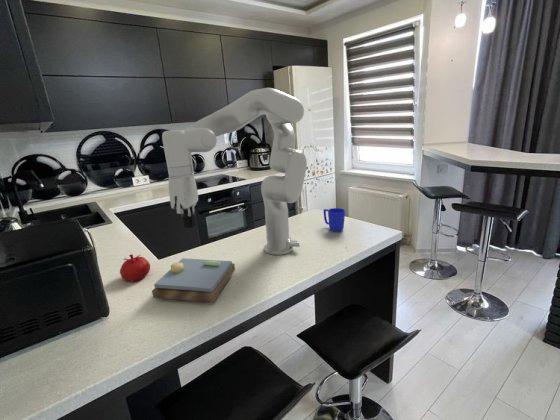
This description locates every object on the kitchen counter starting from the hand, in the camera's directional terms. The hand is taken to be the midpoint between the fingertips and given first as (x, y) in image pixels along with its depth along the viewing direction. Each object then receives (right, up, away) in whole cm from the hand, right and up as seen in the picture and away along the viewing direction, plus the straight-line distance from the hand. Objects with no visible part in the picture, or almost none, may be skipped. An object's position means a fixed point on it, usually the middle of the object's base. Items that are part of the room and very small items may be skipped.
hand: (190, 226), depth 96 cm
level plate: (+1, -16, +2) cm, 16 cm away
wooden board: (+2, -20, +3) cm, 21 cm away
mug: (+56, -4, +49) cm, 75 cm away
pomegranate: (-23, -19, +12) cm, 32 cm away
